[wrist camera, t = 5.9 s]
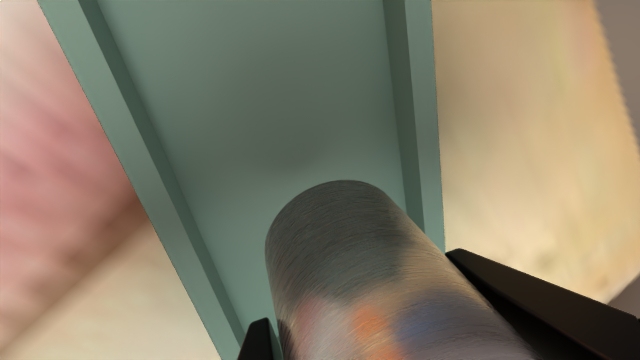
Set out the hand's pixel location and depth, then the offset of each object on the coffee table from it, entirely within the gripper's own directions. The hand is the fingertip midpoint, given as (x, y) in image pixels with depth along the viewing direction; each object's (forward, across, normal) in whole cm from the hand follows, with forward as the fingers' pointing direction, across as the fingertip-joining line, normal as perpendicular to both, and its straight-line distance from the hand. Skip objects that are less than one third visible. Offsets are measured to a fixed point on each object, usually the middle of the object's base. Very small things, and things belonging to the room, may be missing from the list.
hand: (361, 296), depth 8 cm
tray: (+9, 0, 0) cm, 9 cm away
